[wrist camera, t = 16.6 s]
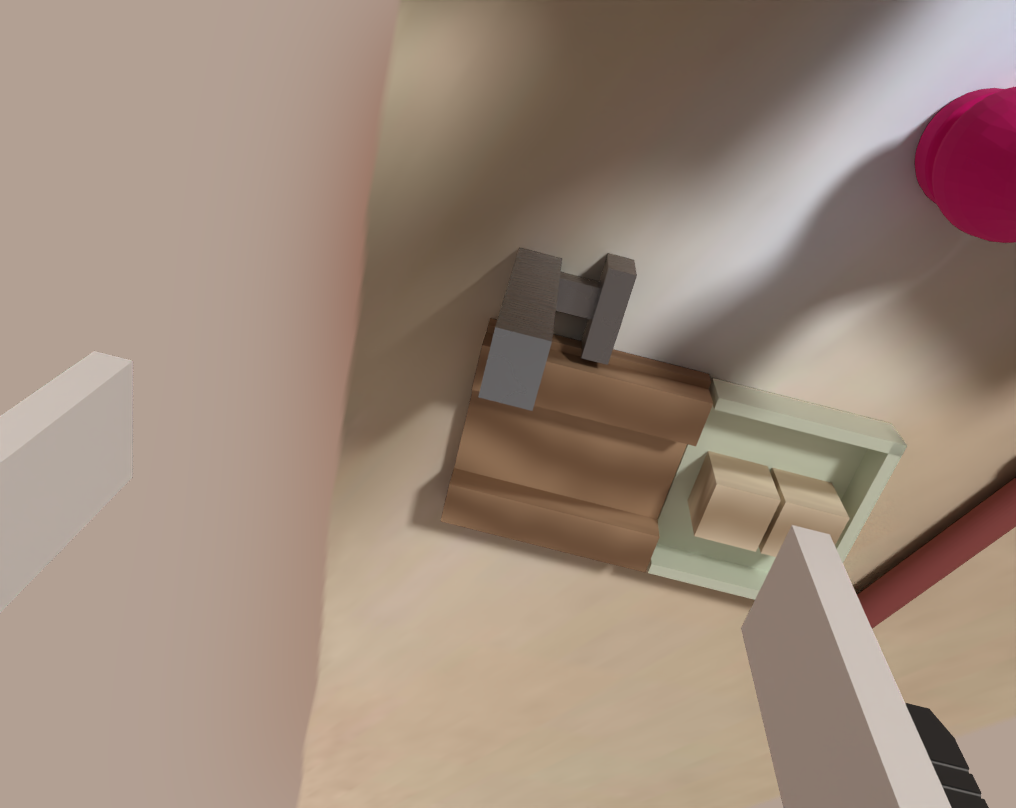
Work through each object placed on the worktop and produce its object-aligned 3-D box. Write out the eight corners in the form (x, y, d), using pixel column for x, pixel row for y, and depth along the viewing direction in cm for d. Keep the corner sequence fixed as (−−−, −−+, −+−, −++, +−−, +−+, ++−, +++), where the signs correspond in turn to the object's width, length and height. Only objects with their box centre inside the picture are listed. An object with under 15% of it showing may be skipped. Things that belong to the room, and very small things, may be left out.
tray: (712, 377, 49) (718, 397, 47) (891, 423, 49) (907, 445, 47) (645, 547, 55) (647, 573, 53) (804, 587, 55) (814, 614, 53)
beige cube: (708, 450, 51) (716, 484, 47) (767, 466, 51) (780, 500, 47) (687, 500, 53) (694, 536, 49) (744, 515, 53) (755, 551, 49)
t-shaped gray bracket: (523, 231, 46) (500, 306, 34) (634, 259, 46) (647, 344, 35) (502, 318, 49) (473, 415, 37) (606, 345, 49) (611, 450, 37)
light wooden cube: (772, 467, 51) (785, 501, 47) (831, 482, 51) (849, 518, 48) (749, 516, 53) (760, 553, 49) (806, 531, 53) (822, 569, 49)
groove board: (490, 318, 49) (484, 337, 46) (708, 373, 49) (716, 396, 46) (447, 500, 55) (438, 527, 52) (640, 548, 55) (643, 578, 53)
